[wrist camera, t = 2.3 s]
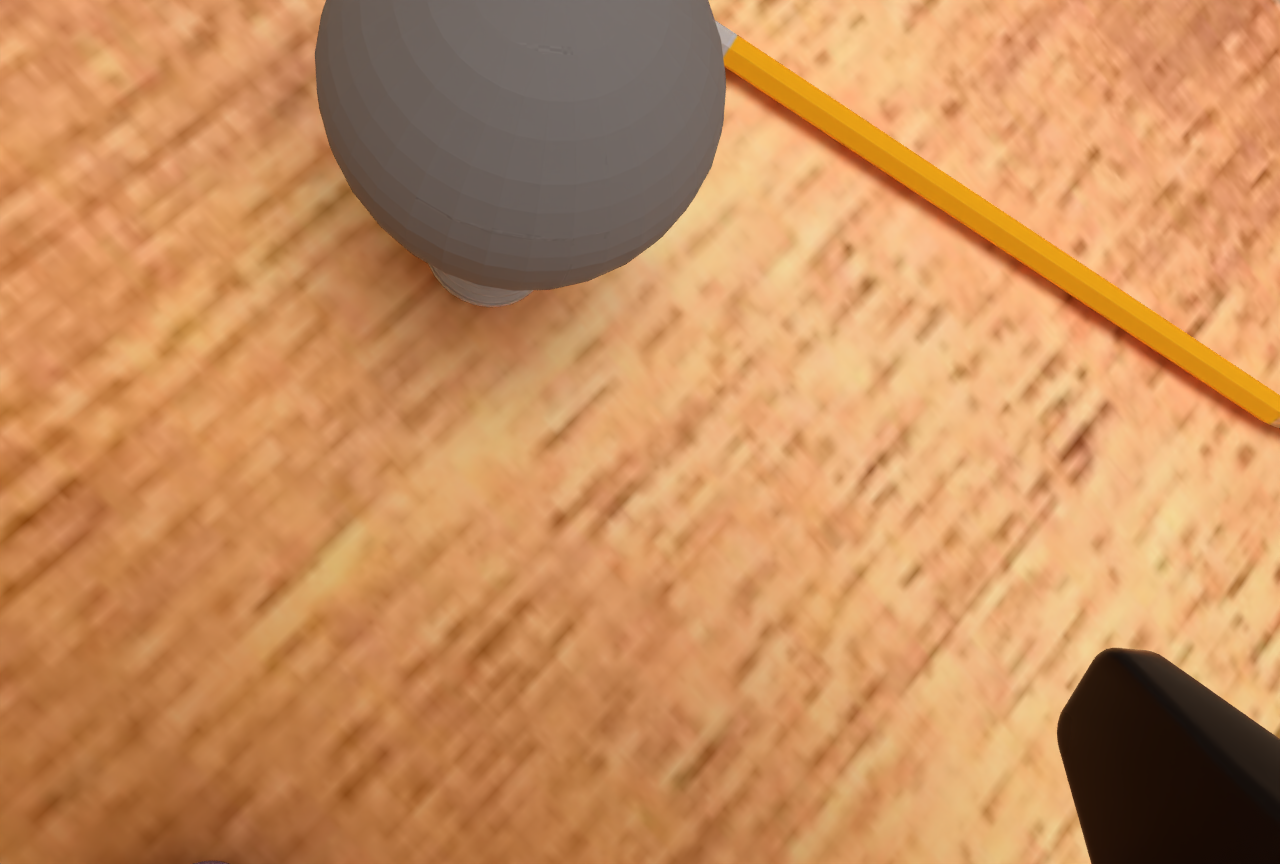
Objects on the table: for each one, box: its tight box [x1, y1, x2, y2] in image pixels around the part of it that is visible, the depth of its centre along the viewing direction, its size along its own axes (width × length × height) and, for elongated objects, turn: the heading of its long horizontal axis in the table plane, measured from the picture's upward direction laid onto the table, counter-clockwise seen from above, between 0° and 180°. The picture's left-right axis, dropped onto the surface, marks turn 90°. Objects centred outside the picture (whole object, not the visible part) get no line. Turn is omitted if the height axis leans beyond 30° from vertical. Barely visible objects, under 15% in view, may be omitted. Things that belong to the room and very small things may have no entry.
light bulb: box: [315, 0, 726, 307], centre depth 17 cm, size 6×6×10 cm
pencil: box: [715, 21, 1280, 429], centre depth 25 cm, size 1×19×1 cm, turn 60°
